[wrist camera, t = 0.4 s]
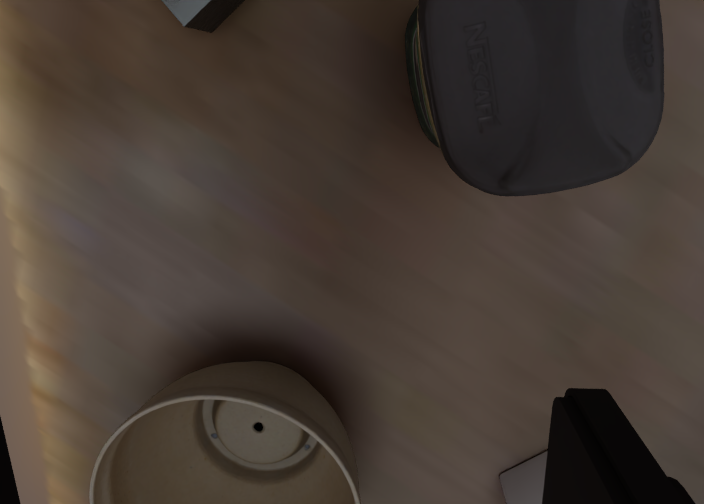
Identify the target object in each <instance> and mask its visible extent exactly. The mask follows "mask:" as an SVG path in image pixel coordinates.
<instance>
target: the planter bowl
mask: <svg viewBox="0 0 704 504" xmlns="http://www.w3.org/2000/svg"><path fill="white" fill-rule="evenodd" d="M257 422H260V423H262V425H263V430H262V431H257V430H255V428H254V425H255V423H257ZM90 504H361V499H360V494H359V481H358V472H357V466H356V461H355V456H354V453H353V449H352V446H351V443H350V440H349V437H348V435H347V433H346V430H345V428H344V426H343V424H342V422H341V421H340V419H339V417H338V416H337V414H336V413H335V411H334V410H333V408H332V407H331V405H330V404H329V403H328V402H327V401H326V399H325V398H324V397H323V396H322V395H321V394H320V393H319V392H318V391H317V390H316V389H315V388H314V387H312V386H311V385H310V384H309V382H308V381H307V380H306V379H304V378H303V377H302V376H301V375H299V374H298V373H296V372H295V371H293V370H291V369H289V368H287V367H285V366H282V365H280V364H276V363H272V362H266V361H250V362H231V363H224V364H218V365H213V366H209V367H206V368H203V369H200V370H197V371H195V372H192V373H190V374H188V375H185V376H184V377H182V378H180V379H178V380H176V381H175V382H173V383H171V384H170V385H168V386H167V387H165V388H164V389H162V390H161V391H160V392H158V393H157V394H156V395H154V396H153V397H152V398H151V399H150V400H149V401H148V402H146V403H145V404H144V405H143V406H142V407H141V408H140V409H139V410H138V411H137V412H136V413H135V414H133V415H132V416H130V417H129V418H128V419H127V420H126V421H125V422H124V423H123V424H122V425H121V426H120V427H119V428H118V429H117V430H116V431H115V432H114V433H113V435H112V436H111V437H110V438H109V440H108V441H107V442H106V444H105V445H104V447H103V448H102V450H101V452H100V454H99V456H98V458H97V461H96V463H95V466H94V469H93V473H92V477H91V483H90Z"/></svg>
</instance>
